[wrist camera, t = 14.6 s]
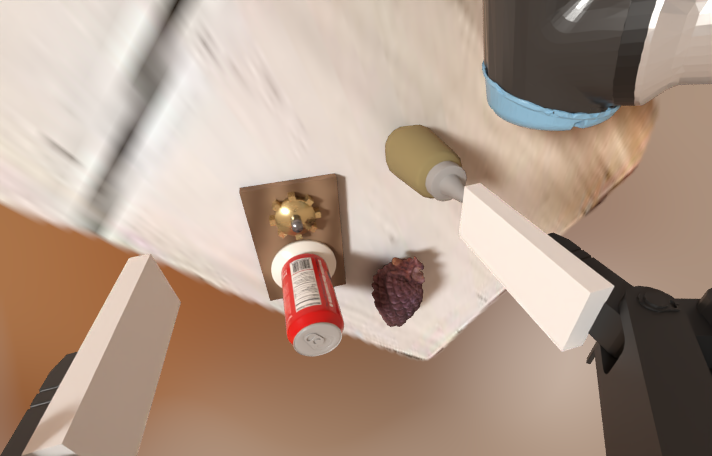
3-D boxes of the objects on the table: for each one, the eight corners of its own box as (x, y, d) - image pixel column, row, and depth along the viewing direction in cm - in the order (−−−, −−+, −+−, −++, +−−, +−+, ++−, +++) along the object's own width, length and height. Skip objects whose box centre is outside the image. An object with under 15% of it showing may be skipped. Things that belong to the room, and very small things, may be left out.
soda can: (303, 241, 50) (318, 312, 38) (336, 264, 55) (358, 334, 43) (270, 272, 52) (275, 348, 40) (304, 291, 56) (318, 366, 44)
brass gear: (316, 188, 47) (320, 200, 44) (321, 229, 51) (326, 243, 48) (264, 196, 45) (265, 209, 42) (274, 238, 50) (275, 253, 46)
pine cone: (402, 304, 69) (421, 342, 61) (359, 310, 67) (373, 350, 59) (419, 238, 60) (445, 273, 52) (370, 241, 57) (389, 278, 49)
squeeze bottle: (434, 147, 50) (508, 199, 36) (394, 179, 51) (449, 241, 37) (411, 106, 45) (485, 146, 31) (367, 141, 47) (419, 197, 32)
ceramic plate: (332, 233, 52) (333, 236, 51) (337, 281, 58) (338, 284, 58) (265, 246, 50) (265, 249, 49) (277, 295, 56) (278, 298, 56)
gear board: (334, 173, 48) (336, 177, 47) (343, 278, 60) (345, 283, 59) (239, 187, 45) (239, 192, 44) (270, 294, 58) (270, 300, 57)
